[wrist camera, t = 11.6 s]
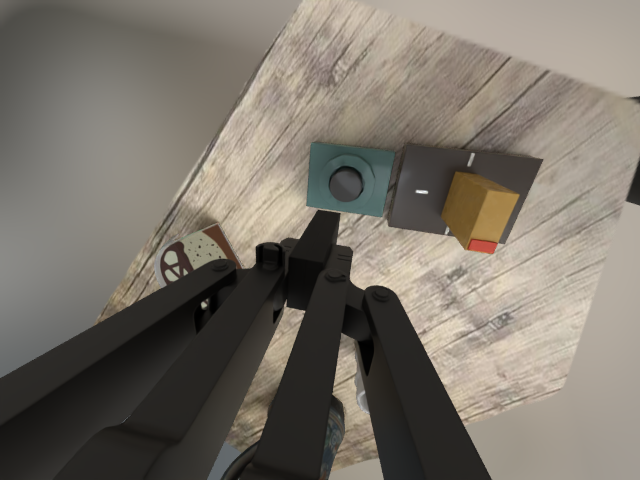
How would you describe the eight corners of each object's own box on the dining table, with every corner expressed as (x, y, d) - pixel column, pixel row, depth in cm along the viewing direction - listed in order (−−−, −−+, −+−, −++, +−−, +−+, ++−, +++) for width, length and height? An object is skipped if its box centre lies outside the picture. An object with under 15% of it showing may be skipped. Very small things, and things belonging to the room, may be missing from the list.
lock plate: (530, 156, 29) (544, 159, 26) (495, 236, 33) (505, 244, 31) (404, 142, 30) (407, 144, 28) (387, 220, 35) (388, 227, 32)
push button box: (394, 150, 31) (397, 153, 27) (381, 212, 34) (382, 222, 31) (314, 141, 32) (307, 143, 29) (309, 201, 36) (303, 210, 32)
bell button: (364, 170, 29) (363, 172, 28) (359, 200, 31) (358, 204, 29) (333, 166, 30) (331, 168, 28) (330, 196, 31) (327, 200, 30)
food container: (184, 224, 41) (132, 252, 32) (213, 213, 39) (167, 239, 30) (221, 286, 45) (184, 326, 36) (249, 278, 43) (217, 318, 34)
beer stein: (359, 426, 55) (350, 635, 32) (285, 435, 61) (236, 613, 39) (323, 374, 50) (284, 577, 28) (248, 390, 57) (168, 563, 34)
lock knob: (455, 171, 28) (489, 190, 20) (477, 174, 28) (522, 195, 20) (440, 217, 31) (465, 251, 22) (461, 220, 30) (494, 256, 22)
